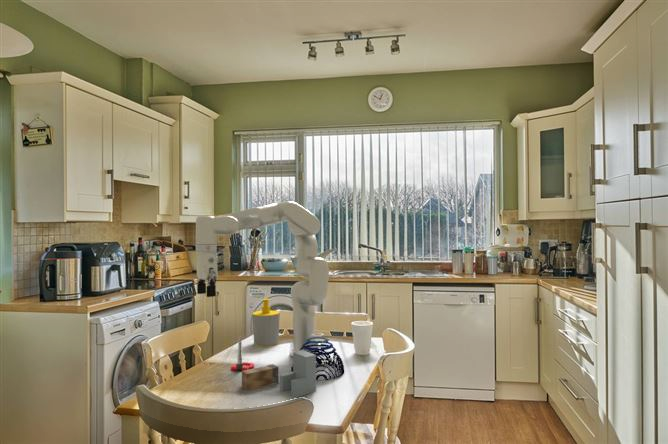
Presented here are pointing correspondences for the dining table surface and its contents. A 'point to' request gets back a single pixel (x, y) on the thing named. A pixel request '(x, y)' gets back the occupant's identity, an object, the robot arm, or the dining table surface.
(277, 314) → the soap bottle
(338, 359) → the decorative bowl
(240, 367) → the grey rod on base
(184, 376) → the dining table surface
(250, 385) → the brown wooden block
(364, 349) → the foam cup
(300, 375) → the grey stepped block
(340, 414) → the dining table surface
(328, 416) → the dining table surface
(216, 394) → the dining table surface
